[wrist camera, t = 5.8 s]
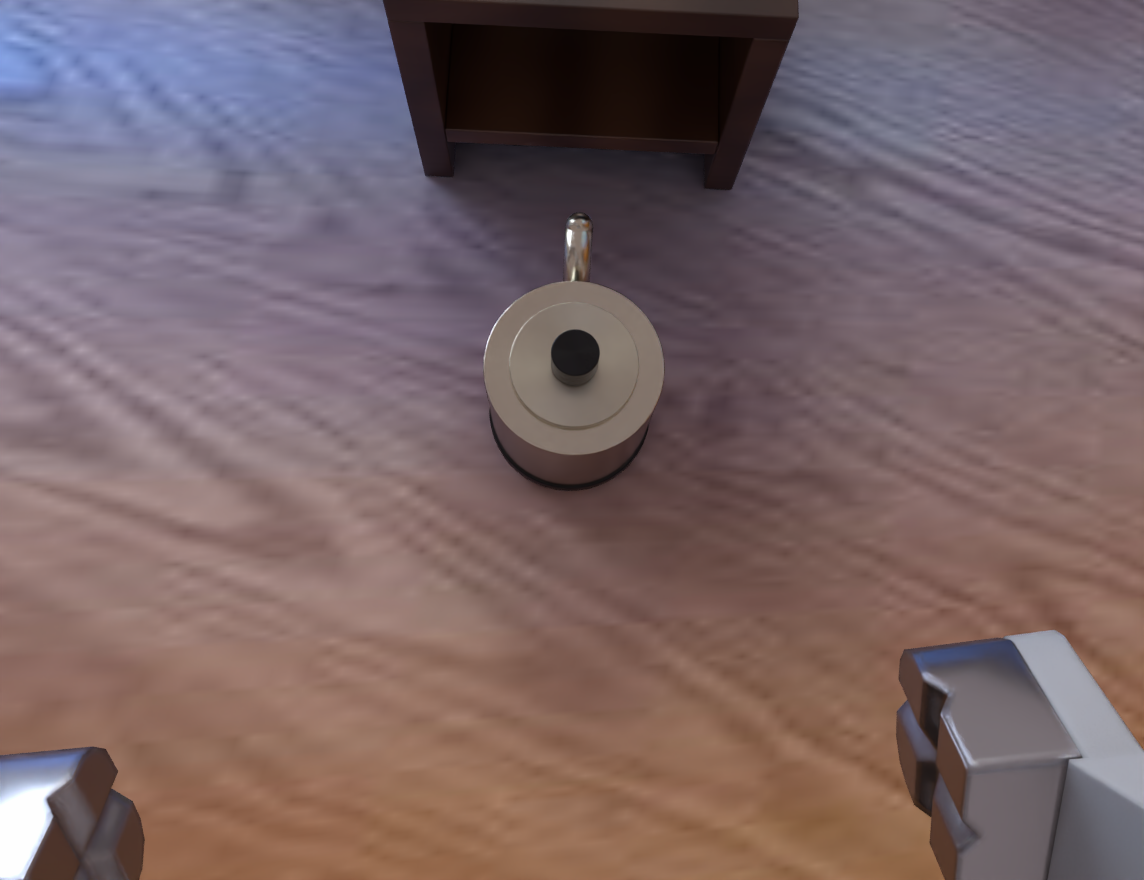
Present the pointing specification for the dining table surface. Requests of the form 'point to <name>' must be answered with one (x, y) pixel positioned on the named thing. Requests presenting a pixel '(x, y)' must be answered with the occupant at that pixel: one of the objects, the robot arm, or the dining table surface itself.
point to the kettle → (572, 376)
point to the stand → (590, 74)
